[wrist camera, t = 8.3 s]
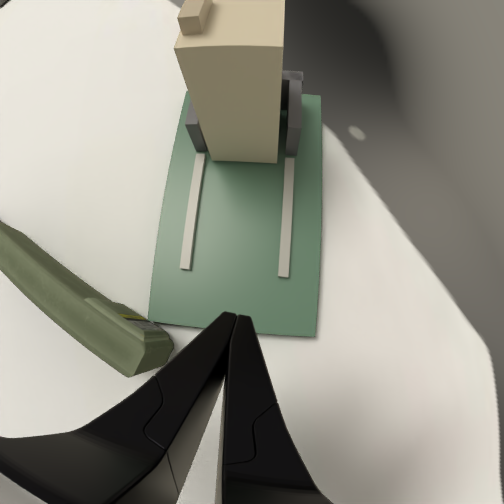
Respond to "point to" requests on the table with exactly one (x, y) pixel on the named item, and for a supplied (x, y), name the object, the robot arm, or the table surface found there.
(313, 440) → the table surface
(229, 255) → the board
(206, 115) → the plug
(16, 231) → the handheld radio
